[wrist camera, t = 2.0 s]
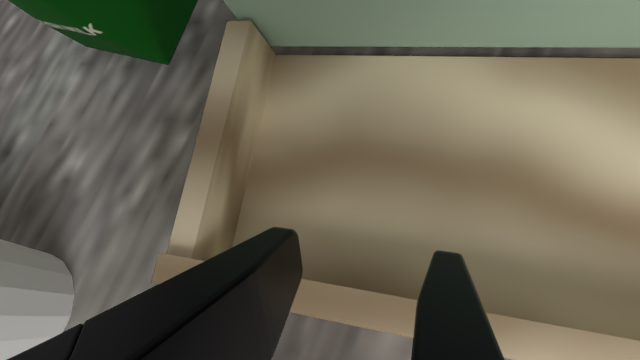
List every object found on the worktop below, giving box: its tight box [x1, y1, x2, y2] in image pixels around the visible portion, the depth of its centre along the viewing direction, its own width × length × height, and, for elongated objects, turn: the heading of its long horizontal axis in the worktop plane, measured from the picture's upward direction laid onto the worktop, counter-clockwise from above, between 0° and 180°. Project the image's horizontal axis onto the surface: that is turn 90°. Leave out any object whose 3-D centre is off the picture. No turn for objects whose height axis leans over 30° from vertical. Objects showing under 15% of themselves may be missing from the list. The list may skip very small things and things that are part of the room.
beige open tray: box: [151, 21, 640, 360], centre depth 19 cm, size 12×21×5 cm, turn 79°
